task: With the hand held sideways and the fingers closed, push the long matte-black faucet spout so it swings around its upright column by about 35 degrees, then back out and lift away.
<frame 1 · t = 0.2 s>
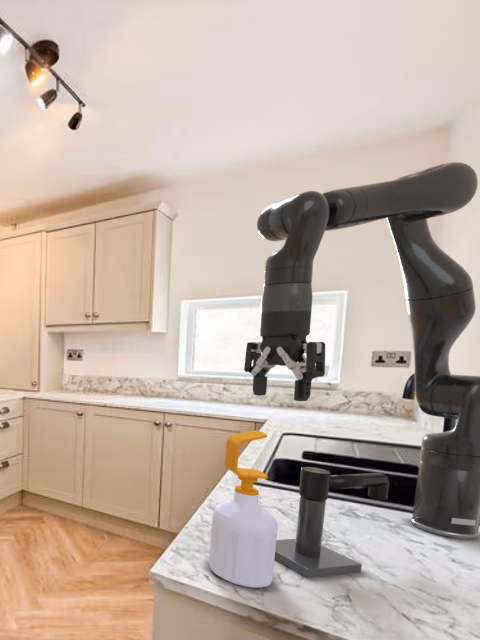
hand: (279, 397, 79), 29 cm above the countertop, tool pointing down, fingers open, 8 cm apart
spout: (345, 483, 76), point 14 cm above the countertop, hinge at 0.0°
soap bottle: (239, 574, 72), on the countertop
faucet base: (306, 560, 76), on the countertop
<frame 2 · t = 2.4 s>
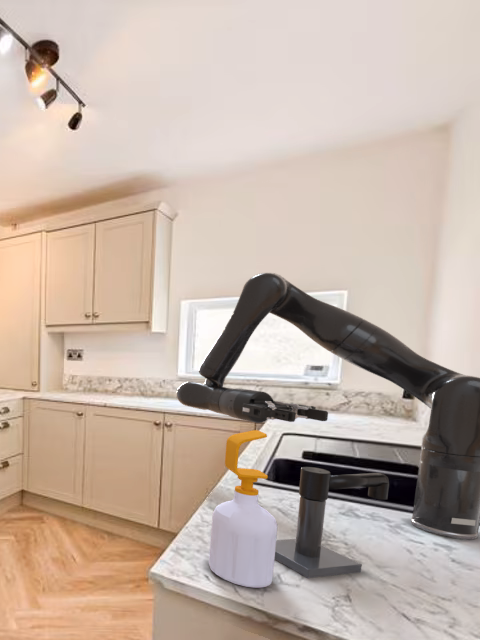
hand: (310, 416, 88), 24 cm above the countertop, tool horizontal, fingers open, 7 cm apart
nothing on the countertop moved.
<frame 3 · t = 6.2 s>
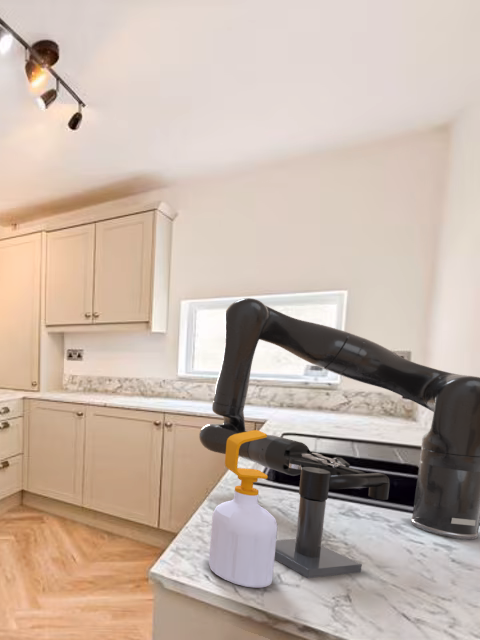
hand: (361, 478, 78), 14 cm above the countertop, tool horizontal, fingers closed
spout: (345, 484, 76), point 14 cm above the countertop, hinge at -0.4°, touching gripper
everything else where it was.
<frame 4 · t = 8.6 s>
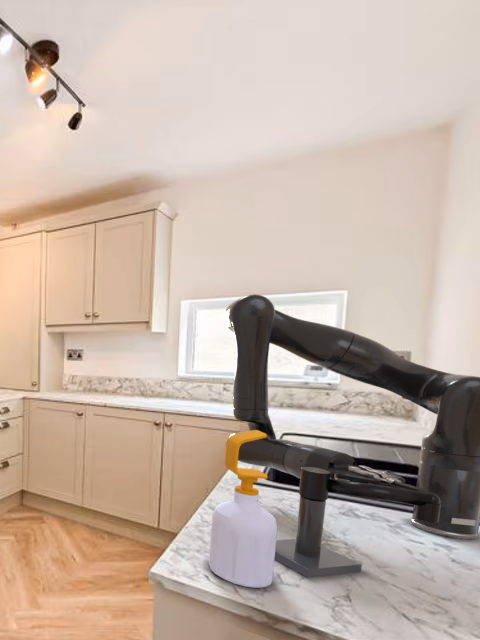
hand: (422, 496, 69), 14 cm above the countertop, tool horizontal, fingers closed
spout: (365, 493, 72), point 14 cm above the countertop, hinge at -40.8°, touching gripper
everything else where it was.
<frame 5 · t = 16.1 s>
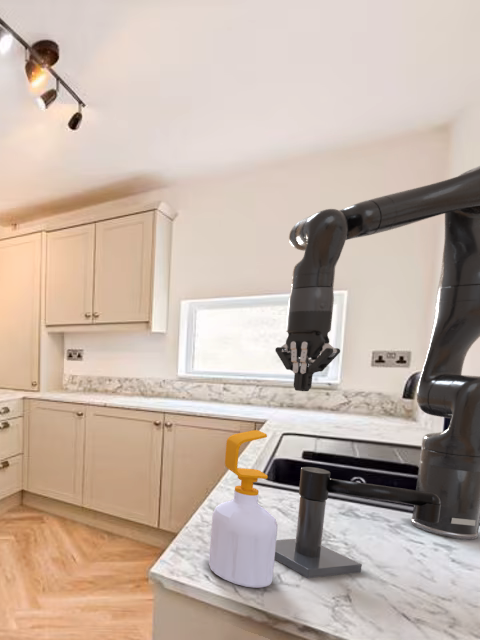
hand: (301, 390, 92), 29 cm above the countertop, tool pointing down, fingers closed
spout: (365, 493, 72), point 14 cm above the countertop, hinge at -40.9°
everything else where it was.
at the end: spout at -41° (first picture: +0°); soap bottle moved 0.2 cm from its start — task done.
